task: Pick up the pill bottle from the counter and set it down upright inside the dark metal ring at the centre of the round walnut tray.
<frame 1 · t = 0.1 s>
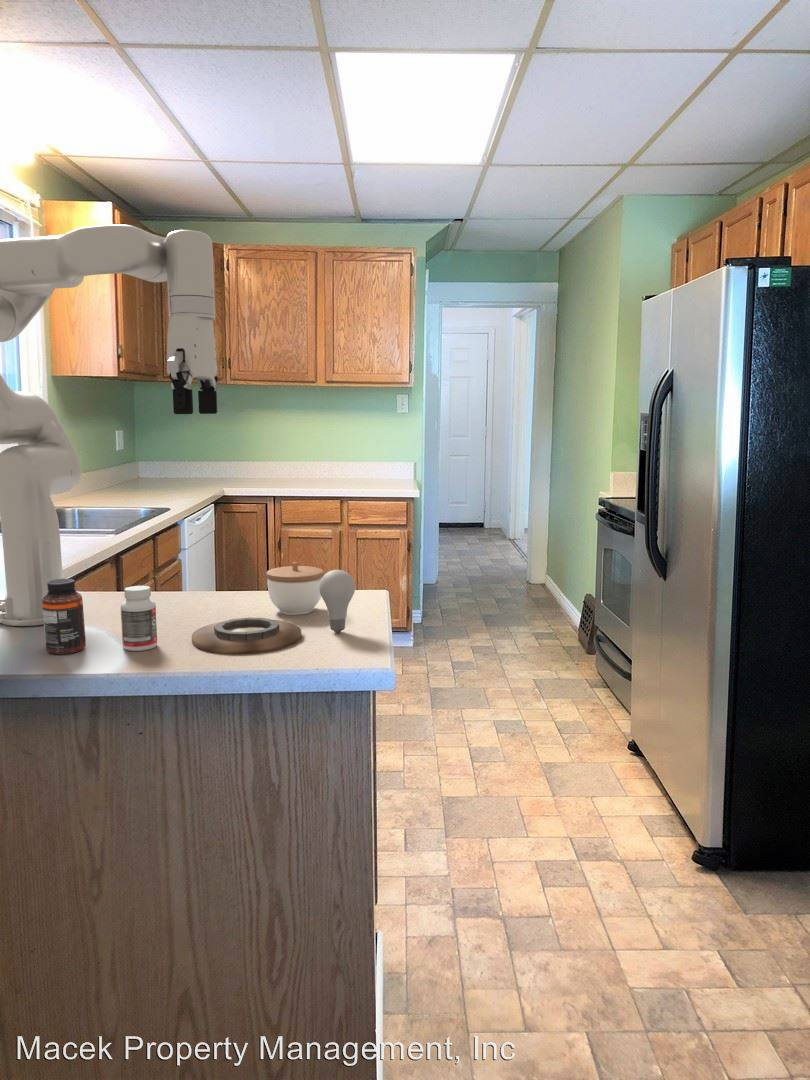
hand: (196, 413, 140), 37 cm above the table, tool pointing down, fingers open, 9 cm apart
walnut tray: (247, 638, 139), on the table
supplement bottle: (66, 651, 132), on the table
lightbulb: (337, 633, 142), on the table
pill bottle: (140, 648, 134), on the table
lidded jar: (296, 612, 158), on the table
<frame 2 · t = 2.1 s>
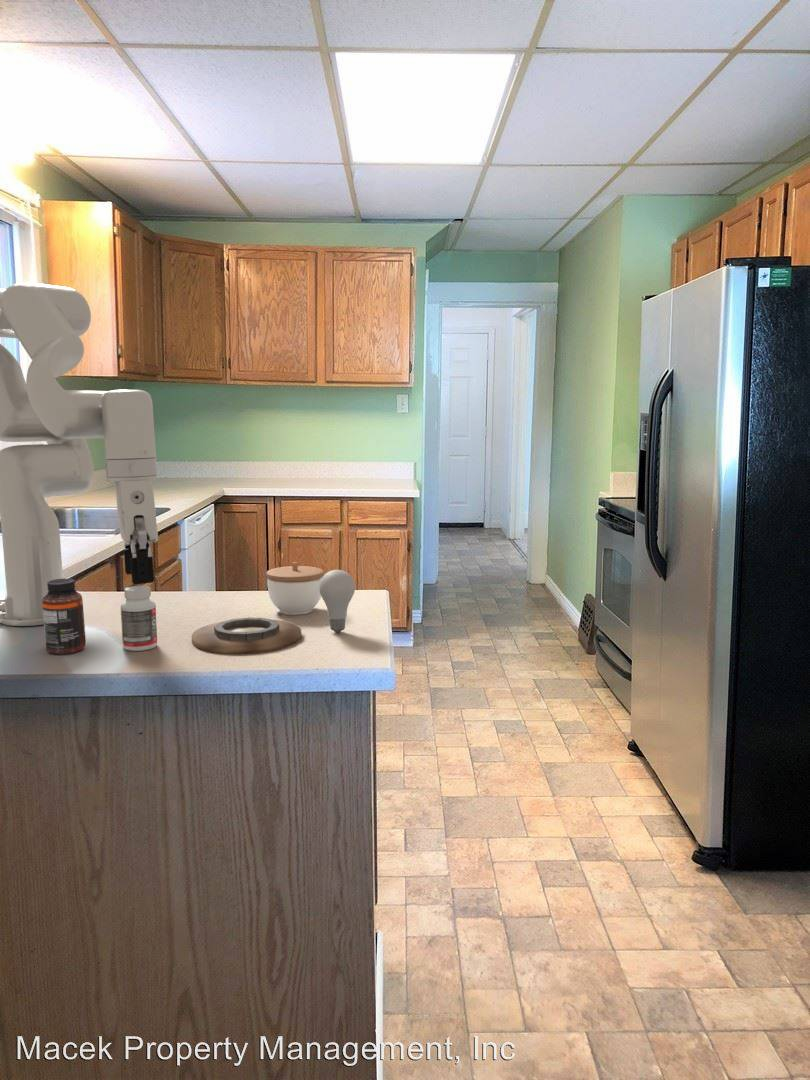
hand: (139, 578, 132), 11 cm above the table, tool pointing down, fingers open, 9 cm apart
nothing on the table moved.
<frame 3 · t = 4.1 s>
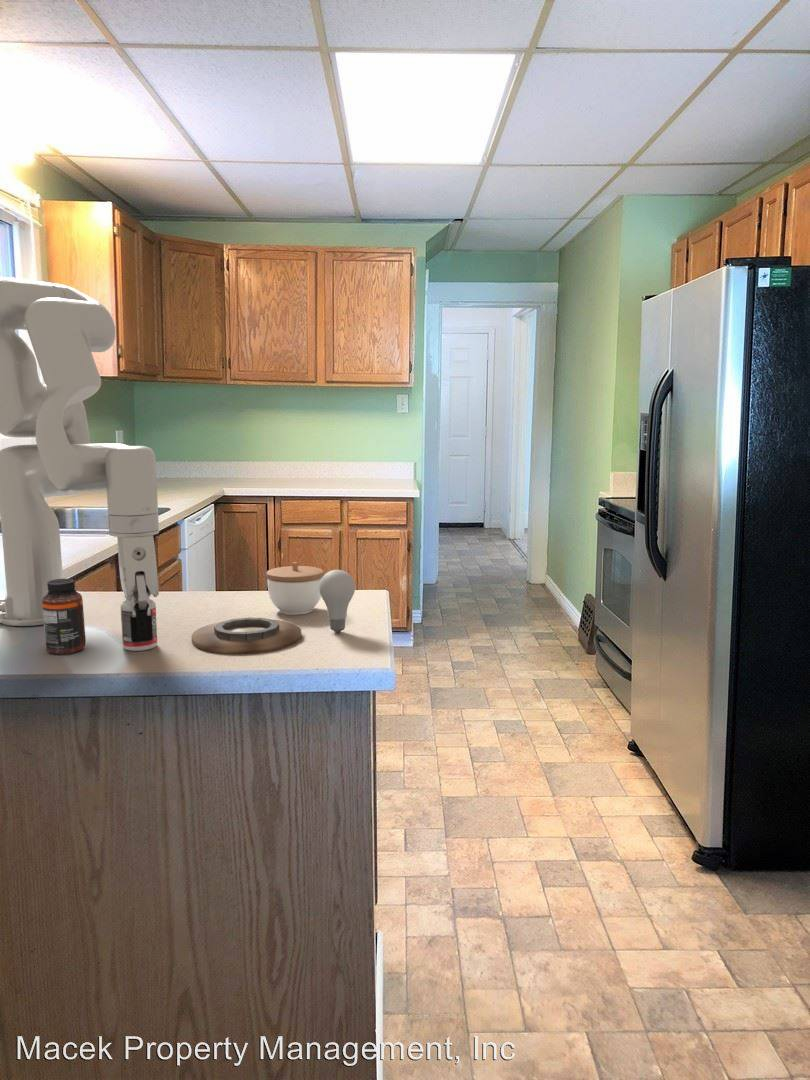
hand: (139, 634, 133), 2 cm above the table, tool pointing down, fingers closed on pill bottle, 5 cm apart
pill bottle: (140, 648, 134), on the table, touching gripper
everything else where it was.
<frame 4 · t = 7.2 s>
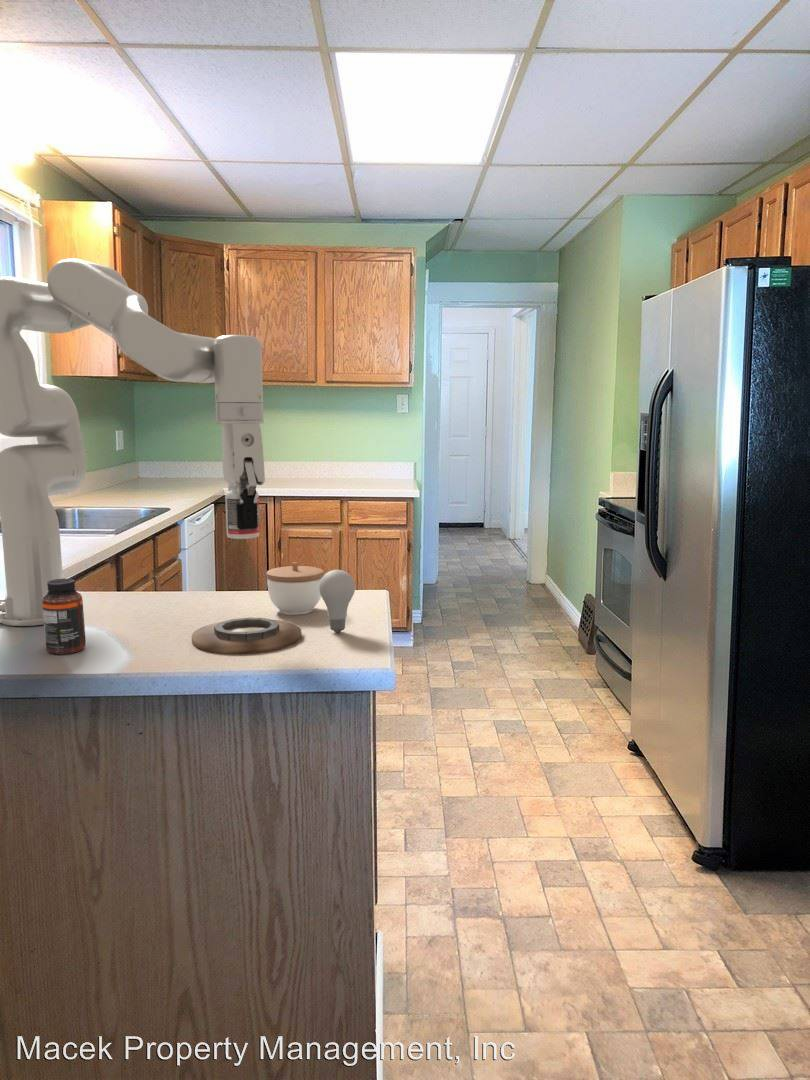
hand: (242, 524, 136), 19 cm above the table, tool pointing down, fingers closed on pill bottle, 5 cm apart
pill bottle: (243, 538, 136), point 17 cm above the table, touching gripper
everything else where it was.
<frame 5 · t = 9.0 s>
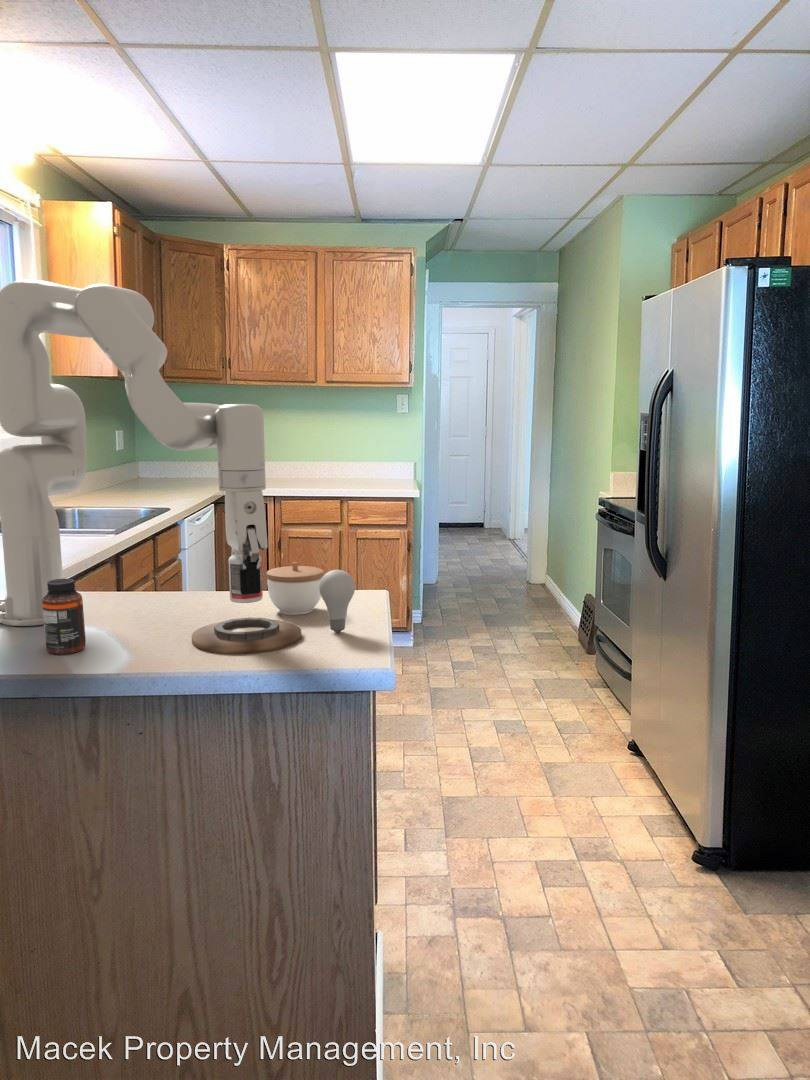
hand: (246, 588, 137), 9 cm above the table, tool pointing down, fingers closed on pill bottle, 5 cm apart
pill bottle: (246, 601, 138), point 6 cm above the table, touching gripper
everything else where it was.
when the fingers open (5 cm above the table, at t = 10.6 s): pill bottle drops 2 cm, resting on walnut tray.
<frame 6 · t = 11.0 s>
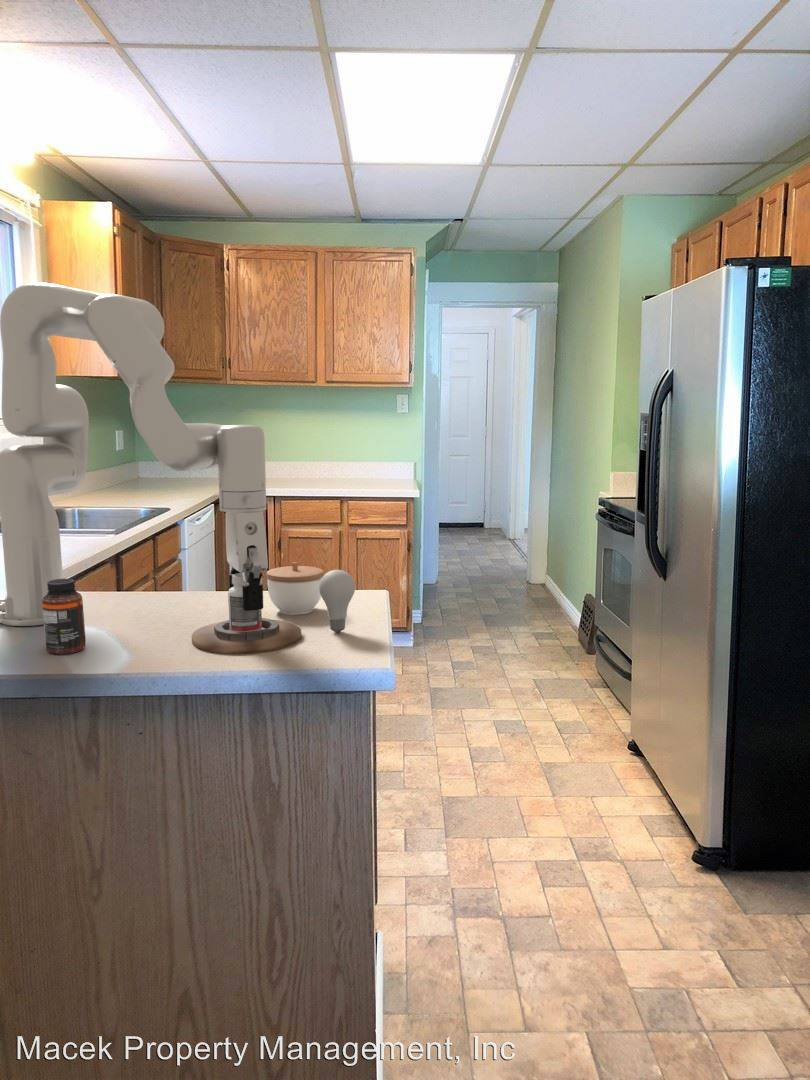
hand: (246, 603, 138), 6 cm above the table, tool pointing down, fingers open, 9 cm apart
pill bottle: (246, 633, 139), point 1 cm above the table, touching walnut tray
everything else where it was.
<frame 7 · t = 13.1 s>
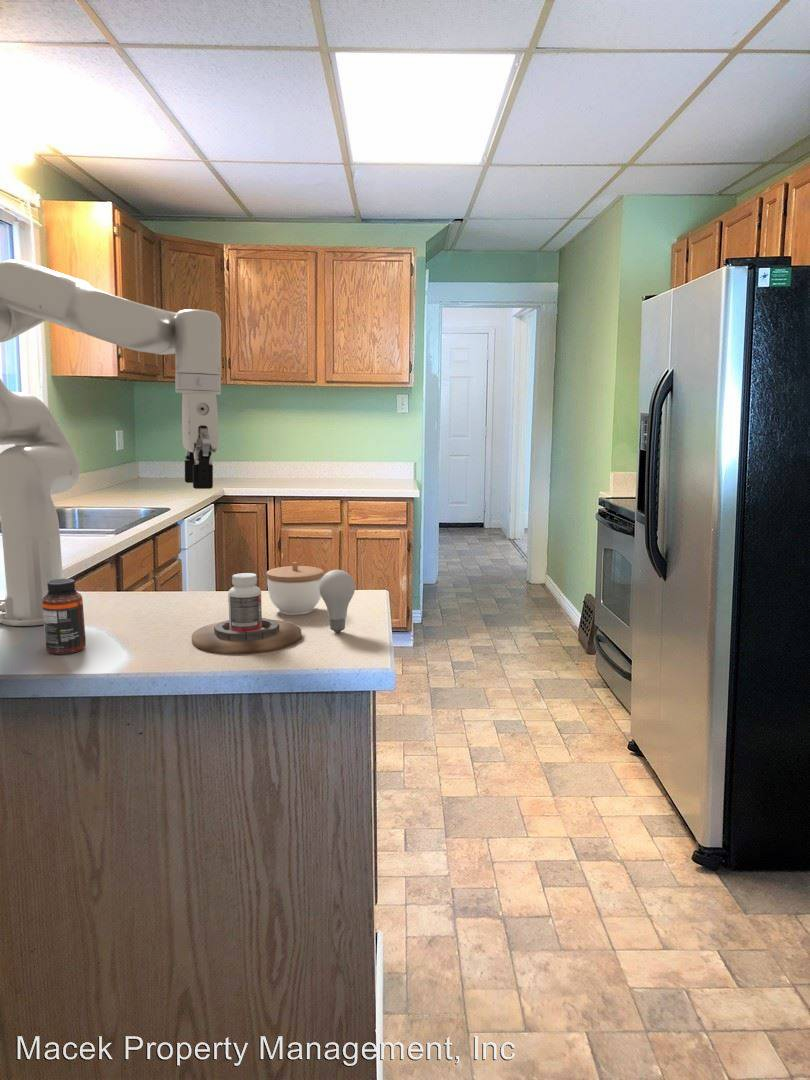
hand: (198, 485, 144), 25 cm above the table, tool pointing down, fingers open, 9 cm apart
nothing on the table moved.
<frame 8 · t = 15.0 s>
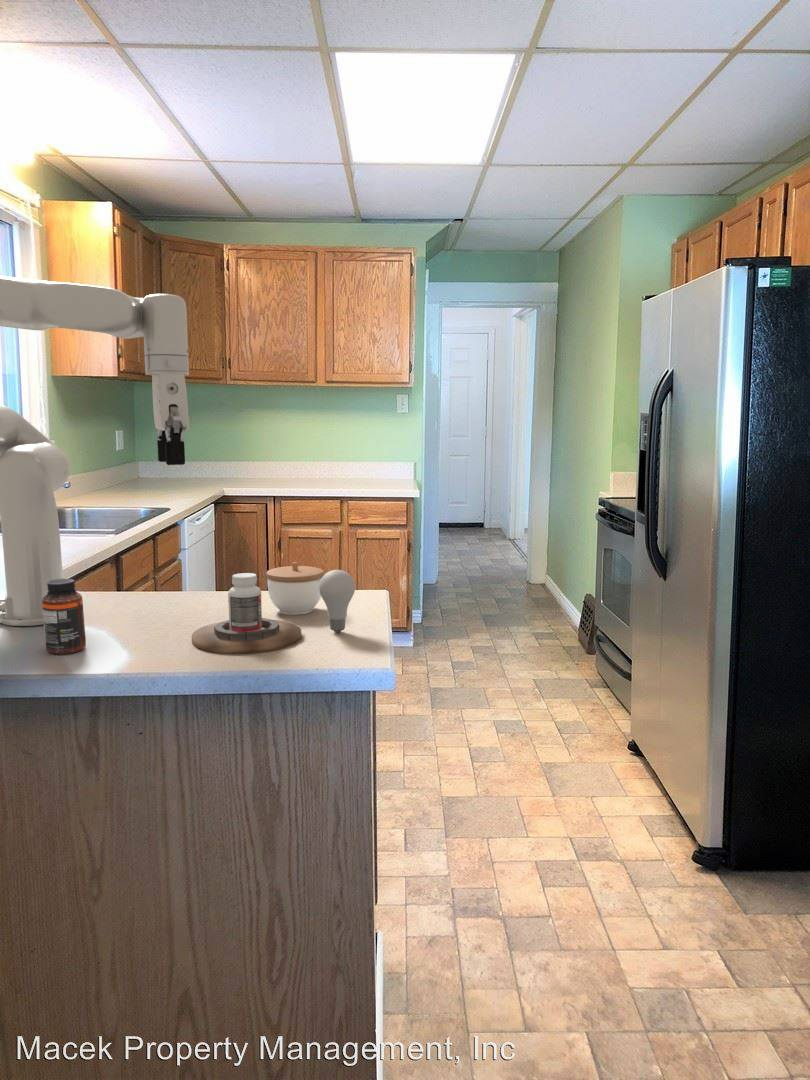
hand: (171, 463, 150), 28 cm above the table, tool pointing down, fingers open, 9 cm apart
nothing on the table moved.
at the end: pill bottle 0.2 cm off-centre on the walnut tray, point 0.8 cm above the walnut tray's base; pill bottle tilted 0°; the gripper is holding nothing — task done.
